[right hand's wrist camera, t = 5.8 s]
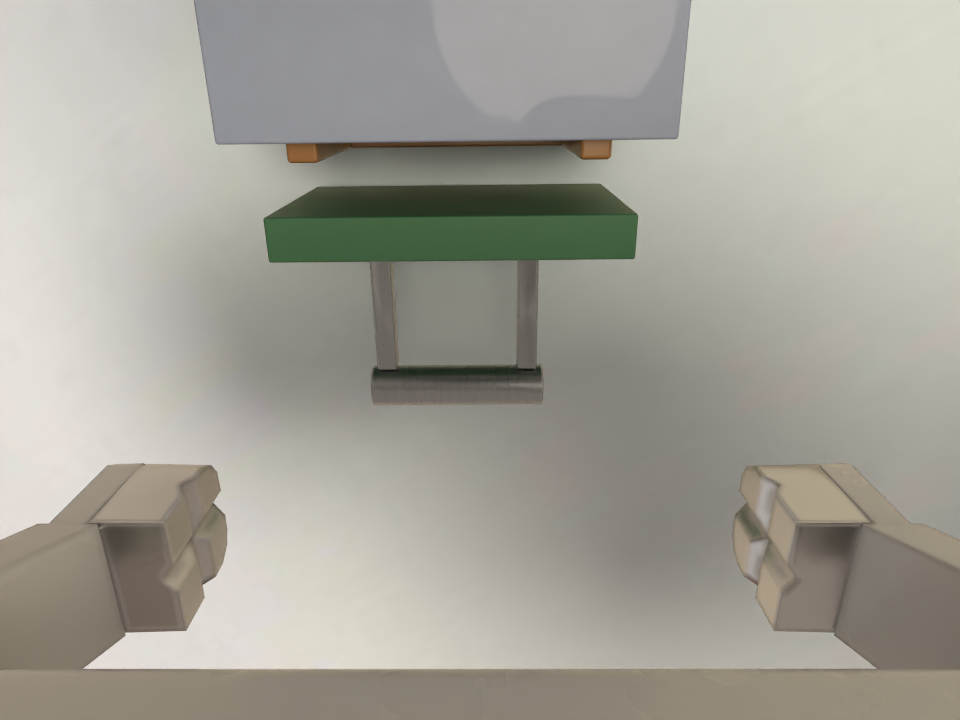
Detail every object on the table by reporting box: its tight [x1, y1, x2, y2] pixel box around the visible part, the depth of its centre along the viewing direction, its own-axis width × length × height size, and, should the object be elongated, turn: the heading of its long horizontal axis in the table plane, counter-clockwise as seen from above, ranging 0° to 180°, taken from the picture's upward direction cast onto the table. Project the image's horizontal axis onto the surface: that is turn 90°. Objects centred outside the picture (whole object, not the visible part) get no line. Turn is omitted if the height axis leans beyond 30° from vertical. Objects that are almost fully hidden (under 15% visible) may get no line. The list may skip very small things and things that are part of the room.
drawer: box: [264, 140, 638, 405], centre depth 19 cm, size 21×10×6 cm, turn 1°
